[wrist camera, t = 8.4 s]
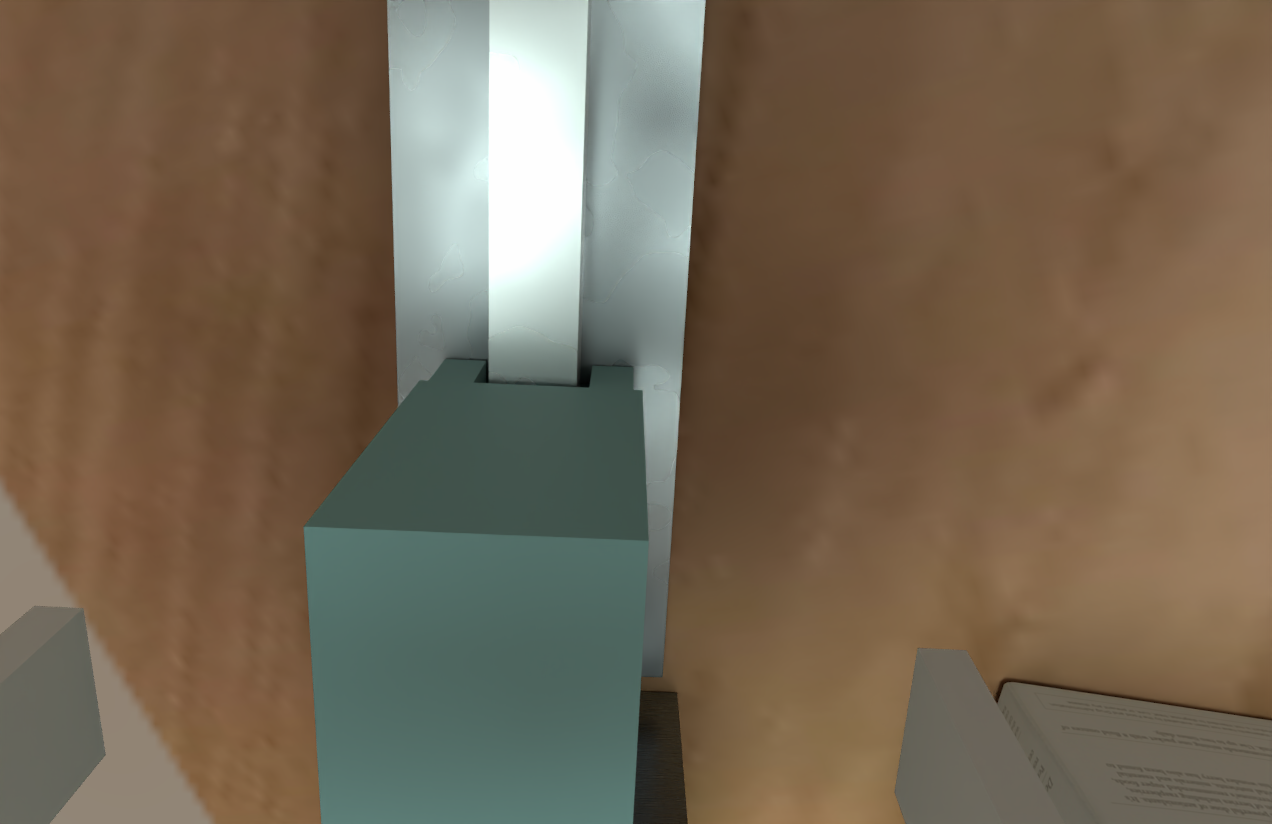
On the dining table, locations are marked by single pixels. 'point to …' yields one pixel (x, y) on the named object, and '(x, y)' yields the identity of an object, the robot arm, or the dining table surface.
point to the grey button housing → (659, 762)
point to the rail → (618, 221)
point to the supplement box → (1142, 758)
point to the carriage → (484, 607)
